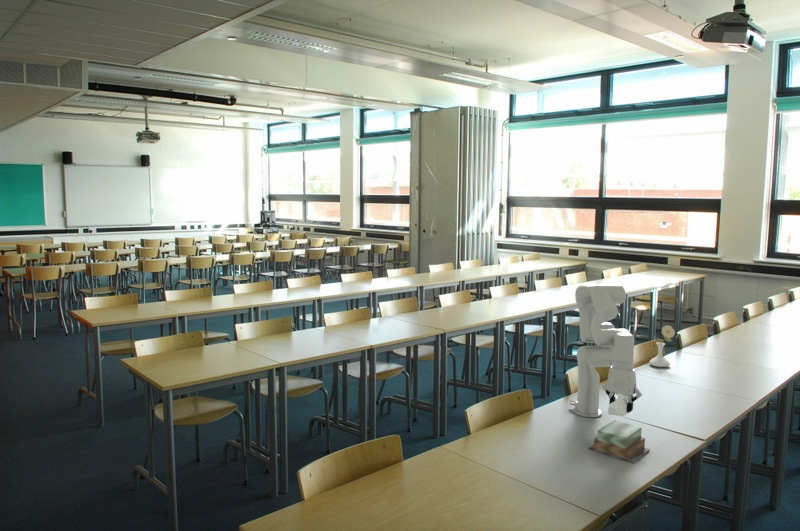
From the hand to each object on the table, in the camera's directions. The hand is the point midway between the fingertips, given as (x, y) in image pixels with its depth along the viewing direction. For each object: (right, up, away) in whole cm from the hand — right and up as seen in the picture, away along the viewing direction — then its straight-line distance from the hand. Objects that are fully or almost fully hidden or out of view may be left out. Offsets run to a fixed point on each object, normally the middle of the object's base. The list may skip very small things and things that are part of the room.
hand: (620, 409), depth 228 cm
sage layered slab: (0, -17, +2) cm, 17 cm away
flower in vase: (+69, -4, +119) cm, 138 cm away
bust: (0, -2, 0) cm, 2 cm away
